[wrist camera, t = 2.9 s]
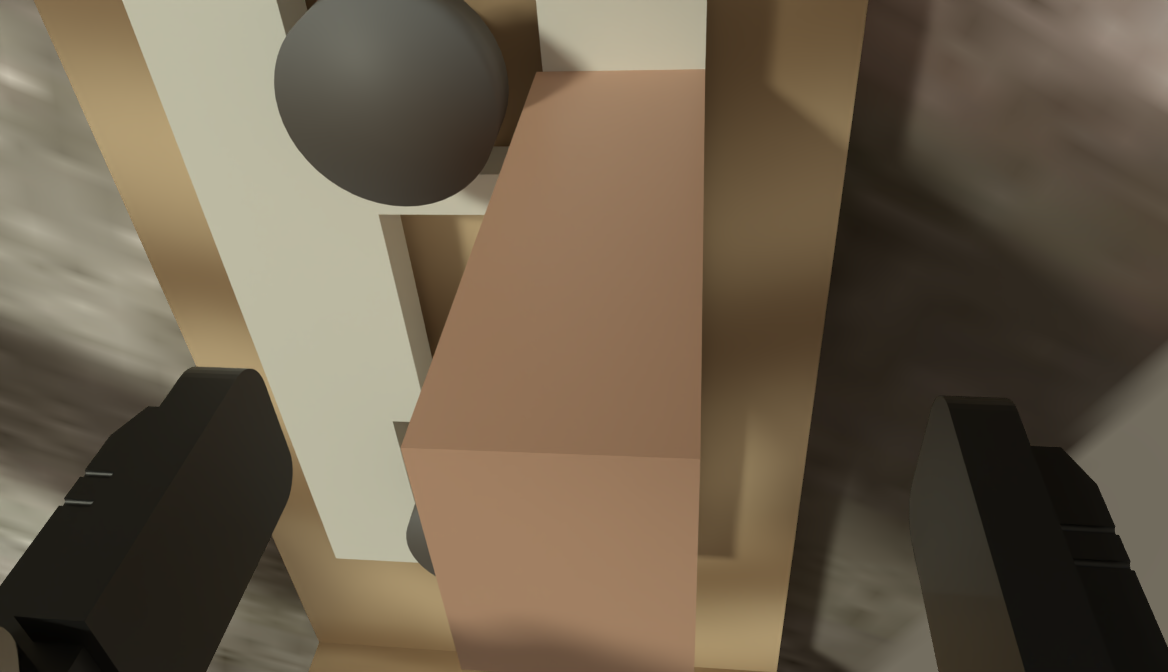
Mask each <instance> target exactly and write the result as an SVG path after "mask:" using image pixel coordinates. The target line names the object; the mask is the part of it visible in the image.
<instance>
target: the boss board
mask: <svg viewBox="0 0 1168 672" xmlns="http://www.w3.org/2000/svg"><path fill="white" fill-rule="evenodd" d="M34 2H35V4H36V6H37V9H38V11H39V13H40V15H41V18H42V20H43V22H44V24H45V27H46V29H47V31H48V33H49V35H50V38H51V40H52V42H53V44H54V47H55V49H56V51H57V53H58V56H59V58H60V60H61V62H62V65H63V67H64V69H65V71H66V74H67V76H68V78H69V80H70V83H71V85H72V87H73V89H74V92H75V94H76V96H77V98H78V101H79V103H80V105H81V107H82V110H83V112H84V114H85V116H86V119H87V121H88V123H89V125H90V128H91V130H92V132H93V134H94V137H95V139H96V141H97V143H98V146H99V148H100V150H101V152H102V155H103V157H104V159H105V161H106V164H107V166H108V168H109V170H110V173H111V175H112V177H113V179H114V182H115V184H116V186H117V188H118V191H119V193H120V195H121V197H122V200H123V202H124V204H125V206H126V209H127V211H128V213H129V215H130V218H131V220H132V222H133V224H134V227H135V229H136V231H137V233H138V236H139V238H140V240H141V242H142V245H143V247H144V249H145V251H146V254H147V256H148V258H149V260H150V263H151V265H152V267H153V269H154V272H155V274H156V276H157V278H158V281H159V283H160V285H161V287H162V290H163V292H164V294H165V296H166V299H167V301H168V303H169V305H170V308H171V310H172V312H173V314H174V316H175V319H176V321H177V323H178V325H179V328H180V330H181V332H182V334H183V337H184V339H185V341H186V343H187V346H188V348H189V350H190V352H191V355H192V357H193V359H194V361H195V364H196V366H197V367H222V368H250V369H254V370H256V371H257V372H259V373H260V375H261V376H262V378H263V380H264V382H265V385H266V388H267V390H268V393H269V396H270V399H271V401H272V404H273V407H274V410H275V412H276V415H277V418H278V421H279V423H280V426H281V429H282V431H283V434H284V437H285V440H286V442H287V445H288V448H289V451H290V454H291V458H292V465H293V478H292V486H291V491H290V495H289V499H288V501H287V504H286V506H285V508H284V510H283V512H282V515H281V517H280V519H279V521H278V523H277V525H276V527H275V529H274V531H273V533H272V537H273V539H274V541H275V544H276V546H277V548H278V550H279V553H280V555H281V557H282V559H283V562H284V564H285V566H286V568H287V571H288V573H289V575H290V577H291V580H292V582H293V584H294V586H295V589H296V591H297V593H298V595H299V597H300V600H301V602H302V604H303V606H304V609H305V611H306V613H307V615H308V618H309V620H310V622H311V624H312V627H313V629H314V631H315V633H316V636H317V638H318V640H319V645H318V648H317V650H316V653H315V656H314V658H313V661H312V664H311V666H310V669H309V672H491V671H476V670H462V669H461V666H460V662H459V659H458V655H457V652H456V648H455V644H454V641H453V637H452V633H451V630H450V626H449V623H448V619H447V615H446V612H445V608H444V604H443V601H442V597H441V593H440V590H439V586H438V583H437V579H436V575H435V572H434V568H433V564H432V561H431V557H430V554H429V550H428V546H427V543H426V539H425V535H424V532H423V528H422V524H421V521H420V517H419V514H418V510H417V506H416V503H415V505H414V508H413V511H412V514H411V517H410V520H409V524H408V527H407V531H406V540H407V545H408V547H409V550H410V552H411V553H412V555H413V557H414V558H415V559H416V560H417V562H418V563H414V562H395V561H376V560H358V559H339V558H336V557H335V554H334V552H333V549H332V546H331V544H330V541H329V539H328V536H327V533H326V531H325V528H324V526H323V523H322V520H321V518H320V515H319V513H318V510H317V507H316V505H315V502H314V500H313V497H312V494H311V492H310V489H309V486H308V484H307V481H306V479H305V476H304V473H303V471H302V468H301V466H300V463H299V460H298V458H297V455H296V453H295V450H294V447H293V445H292V442H291V440H290V437H289V434H288V432H287V429H286V426H285V424H284V421H283V419H282V416H281V413H280V411H279V408H278V406H277V403H276V400H275V398H274V395H273V393H272V390H271V387H270V385H269V382H268V380H267V377H266V374H265V372H264V369H263V366H262V364H261V361H260V359H259V356H258V353H257V351H256V348H255V346H254V343H253V340H252V338H251V335H250V333H249V330H248V327H247V325H246V322H245V320H244V317H243V314H242V312H241V309H240V306H239V304H238V301H237V299H236V296H235V293H234V291H233V288H232V286H231V283H230V280H229V278H228V275H227V273H226V270H225V267H224V265H223V262H222V260H221V257H220V254H219V252H218V249H217V246H216V244H215V241H214V239H213V236H212V233H211V231H210V228H209V226H208V223H207V220H206V218H205V215H204V213H203V210H202V207H201V205H200V202H199V200H198V197H197V194H196V192H195V189H194V186H193V184H192V181H191V179H190V176H189V173H188V171H187V168H186V166H185V163H184V160H183V158H182V155H181V153H180V150H179V147H178V145H177V142H176V140H175V137H174V134H173V132H172V129H171V126H170V124H169V121H168V119H167V116H166V113H165V111H164V108H163V106H162V103H161V100H160V98H159V95H158V93H157V90H156V87H155V85H154V82H153V79H152V77H151V74H150V72H149V69H148V66H147V64H146V61H145V59H144V56H143V53H142V51H141V48H140V46H139V43H138V40H137V38H136V35H135V33H134V30H133V27H132V25H131V22H130V19H129V17H128V14H127V12H126V9H125V6H124V4H123V1H122V0H34ZM305 3H306V7H307V12H306V13H305V14H304V15H303V16H302V17H301V18H300V19H299V20H298V21H297V22H296V24H295V25H294V26H293V27H292V28H291V30H290V31H289V32H288V34H287V36H286V37H285V39H284V41H283V43H282V45H281V47H280V50H279V53H278V56H277V60H276V65H275V71H274V89H275V98H276V102H277V107H278V111H279V114H280V116H281V119H282V122H283V124H284V126H285V128H286V130H287V132H288V134H289V136H290V138H291V140H292V141H293V143H294V144H295V146H296V147H297V149H298V150H299V151H300V152H301V154H302V155H303V156H304V157H305V159H306V160H307V161H308V162H309V163H310V164H311V165H312V166H313V167H314V168H315V169H316V170H317V171H318V172H320V173H321V174H322V175H323V176H324V177H326V178H327V179H328V180H330V181H331V182H333V183H334V184H336V185H337V186H339V187H340V188H342V189H344V190H346V191H348V192H350V193H351V194H353V195H356V196H358V197H361V198H363V199H366V200H369V201H373V202H376V203H380V204H385V205H391V206H404V207H409V206H422V205H427V204H433V203H436V202H439V201H442V200H445V199H447V198H449V197H451V196H453V195H455V194H457V193H458V192H460V191H461V190H463V189H464V188H466V187H467V186H468V185H469V184H470V183H471V182H472V181H473V180H474V179H475V178H476V177H477V176H478V175H479V173H480V172H481V171H482V169H483V168H484V166H485V164H486V163H487V161H488V159H489V156H490V154H491V151H492V149H493V147H494V146H510V143H511V141H512V138H513V135H514V132H515V130H516V127H517V124H518V121H519V118H520V116H521V113H522V110H523V107H524V105H525V102H526V99H527V96H528V94H529V91H530V88H531V85H532V82H533V80H534V77H535V74H536V72H543V69H542V59H541V48H540V38H539V27H538V17H537V6H536V0H305ZM867 7H868V0H707V17H706V58H705V128H704V208H703V288H702V368H701V448H700V489H699V524H698V559H697V594H696V628H695V663H694V672H777V666H778V658H779V651H780V644H781V636H782V629H783V622H784V614H785V607H786V600H787V592H788V585H789V578H790V571H791V563H792V556H793V549H794V541H795V534H796V527H797V519H798V512H799V505H800V497H801V490H802V483H803V475H804V468H805V461H806V453H807V446H808V439H809V431H810V424H811V417H812V409H813V402H814V395H815V388H816V380H817V373H818V366H819V358H820V351H821V344H822V336H823V329H824V322H825V314H826V307H827V300H828V292H829V285H830V278H831V270H832V263H833V256H834V248H835V241H836V234H837V226H838V219H839V212H840V204H841V197H842V190H843V183H844V175H845V168H846V161H847V153H848V146H849V139H850V131H851V124H852V117H853V109H854V102H855V95H856V87H857V80H858V73H859V65H860V58H861V51H862V43H863V36H864V29H865V21H866V14H867ZM400 217H401V221H402V226H403V230H404V235H405V239H406V244H407V248H408V253H409V257H410V262H411V266H412V270H413V275H414V279H415V284H416V288H417V293H418V297H419V302H420V306H421V311H422V315H423V320H424V324H425V329H426V333H427V338H428V342H429V347H430V351H431V356H432V359H433V356H434V354H435V351H436V348H437V345H438V342H439V340H440V337H441V334H442V331H443V329H444V326H445V323H446V320H447V318H448V315H449V312H450V309H451V307H452V304H453V301H454V298H455V295H456V293H457V290H458V287H459V284H460V282H461V279H462V276H463V273H464V271H465V268H466V265H467V262H468V260H469V257H470V254H471V251H472V248H473V246H474V243H475V240H476V237H477V235H478V232H479V229H480V226H481V224H482V221H483V218H484V215H400Z"/></svg>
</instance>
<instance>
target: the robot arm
mask: <svg viewBox="0 0 1168 672" xmlns="http://www.w3.org/2000/svg"><path fill="white" fill-rule="evenodd" d="M85 471H86V474H85V477H80V478H79V479H78V480H77V482H76V483H75V485H74V486H73V487H72V489H71V490H70V491H69V493H68V494H67V495H66V497H65V498H64V499H65V504H64V505H63V506H58V508H57V509H56V510H55V512H54V513H53V515H52V516H51V517H50V519H49V520H48V521H47V523H46V524H45V525H44V527H43V528H42V530H41V531H40V532H39V534H38V535H37V536H36V538H35V539H34V541H33V542H32V543H31V545H30V546H29V547H28V549H27V550H26V551H25V553H24V554H23V556H22V557H21V558H20V560H19V561H18V562H17V564H16V565H15V566H14V568H13V569H12V571H11V572H10V573H9V575H8V576H7V577H6V579H5V580H4V581H3V583H2V584H1V586H0V672H206V671H207V669H208V667H209V664H210V662H211V660H212V658H213V656H214V654H215V652H216V650H217V648H218V646H219V644H220V642H221V639H222V637H223V635H224V633H225V631H226V629H227V627H228V625H229V623H230V621H231V619H232V617H233V614H234V612H235V610H236V608H237V606H238V604H239V602H240V600H241V598H242V596H243V594H244V592H245V590H246V587H247V585H248V583H249V581H250V579H251V577H252V575H253V573H254V571H255V569H256V567H257V565H258V562H259V560H260V558H261V556H262V554H263V552H264V550H265V548H266V546H267V544H268V542H269V540H270V537H271V535H272V533H273V531H274V529H275V527H276V525H277V523H278V521H279V519H280V517H281V515H282V512H283V510H284V508H285V506H286V504H287V501H288V499H289V495H290V491H291V486H292V478H293V465H292V458H291V454H290V451H289V448H288V445H287V442H286V440H285V437H284V434H283V431H282V429H281V426H280V423H279V421H278V418H277V415H276V412H275V410H274V407H273V404H272V401H271V399H270V396H269V393H268V390H267V388H266V385H265V382H264V380H263V378H262V376H261V375H260V373H259V372H257V371H256V370H254V369H250V368H222V367H191V368H189V369H188V370H186V371H185V372H184V373H183V374H182V375H181V377H180V378H179V379H178V381H177V382H176V384H175V385H174V387H173V388H172V390H171V391H170V392H169V394H168V395H167V397H166V398H165V400H164V401H163V402H162V404H161V405H160V407H149V406H148V407H147V408H145V409H144V410H143V411H141V412H140V413H139V414H138V415H136V416H135V417H134V418H132V419H131V420H130V421H129V422H127V423H126V424H125V425H123V426H122V427H121V428H120V429H118V430H117V431H116V432H114V433H113V434H112V435H111V436H110V437H109V438H108V440H107V441H106V442H105V444H104V445H103V446H102V448H101V449H100V450H99V452H98V453H97V455H96V456H95V457H94V459H93V460H92V461H91V463H90V464H89V465H88V467H87V468H86V470H85ZM909 525H910V535H911V541H912V546H913V551H914V556H915V561H916V565H917V570H918V575H919V580H920V585H921V589H922V594H923V599H924V604H925V608H926V613H927V618H928V623H929V628H930V632H931V637H932V642H933V647H934V652H935V656H936V660H937V666H938V671H939V672H1168V647H1167V645H1166V642H1165V640H1164V638H1163V635H1162V633H1161V631H1160V628H1159V626H1158V624H1157V621H1156V620H1155V617H1154V615H1153V612H1152V610H1151V608H1150V605H1149V603H1148V601H1147V598H1146V596H1145V594H1144V592H1143V589H1142V587H1141V585H1140V583H1139V580H1138V578H1137V576H1136V573H1135V571H1133V570H1131V569H1130V559H1129V557H1128V555H1127V552H1126V550H1125V548H1124V545H1123V543H1122V541H1121V539H1120V536H1119V535H1116V534H1115V525H1114V523H1113V520H1112V518H1111V516H1110V513H1109V511H1108V509H1107V506H1106V504H1105V502H1104V499H1103V497H1102V495H1101V493H1100V490H1099V488H1098V486H1097V484H1096V483H1095V482H1094V481H1093V480H1092V479H1091V478H1090V477H1089V476H1088V475H1087V474H1086V473H1085V472H1084V471H1083V470H1082V469H1081V468H1080V466H1079V465H1078V464H1077V463H1076V462H1075V461H1074V460H1073V459H1072V458H1071V457H1070V456H1069V455H1068V454H1067V453H1066V452H1065V451H1064V450H1063V449H1062V448H1061V447H1040V446H1030V443H1029V440H1028V438H1027V435H1026V432H1025V430H1024V427H1023V424H1022V422H1021V419H1020V416H1019V414H1018V411H1017V409H1016V406H1015V405H1014V403H1013V402H1012V401H1011V400H1010V399H1008V398H990V397H963V396H938V397H937V398H936V399H935V400H934V402H933V405H932V408H931V411H930V415H929V419H928V423H927V427H926V431H925V435H924V439H923V443H922V447H921V451H920V454H919V458H918V462H917V466H916V470H915V474H914V478H913V482H912V486H911V492H910V501H909Z"/></svg>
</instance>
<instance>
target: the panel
mask: <svg viewBox="0 0 1168 672" xmlns="http://www.w3.org/2000/svg"><path fill="white" fill-rule="evenodd" d="M122 1H123V4H124V6H125V9H126V12H127V14H128V17H129V19H130V22H131V25H132V27H133V30H134V33H135V35H136V38H137V40H138V43H139V46H140V48H141V51H142V53H143V56H144V59H145V61H146V64H147V66H148V69H149V72H150V74H151V77H152V79H153V82H154V85H155V87H156V90H157V93H158V95H159V98H160V100H161V103H162V106H163V108H164V111H165V113H166V116H167V119H168V121H169V124H170V126H171V129H172V132H173V134H174V137H175V140H176V142H177V145H178V147H179V150H180V153H181V155H182V158H183V160H184V163H185V166H186V168H187V171H188V173H189V176H190V179H191V181H192V184H193V186H194V189H195V192H196V194H197V197H198V200H199V202H200V205H201V207H202V210H203V213H204V215H205V218H206V220H207V223H208V226H209V228H210V231H211V233H212V236H213V239H214V241H215V244H216V246H217V249H218V252H219V254H220V257H221V260H222V262H223V265H224V267H225V270H226V273H227V275H228V278H229V280H230V283H231V286H232V288H233V291H234V293H235V296H236V299H237V301H238V304H239V306H240V309H241V312H242V314H243V317H244V320H245V322H246V325H247V327H248V330H249V333H250V335H251V338H252V340H253V343H254V346H255V348H256V351H257V353H258V356H259V359H260V361H261V364H262V366H263V369H264V372H265V374H266V377H267V380H268V382H269V385H270V387H271V390H272V393H273V395H274V398H275V400H276V403H277V406H278V408H279V411H280V413H281V416H282V419H283V421H284V424H285V426H286V429H287V432H288V434H289V437H290V440H291V442H292V445H293V447H294V450H295V453H296V455H297V458H298V460H299V463H300V466H301V468H302V471H303V473H304V476H305V479H306V481H307V484H308V486H309V489H310V492H311V494H312V497H313V500H314V502H315V505H316V507H317V510H318V513H319V515H320V518H321V520H322V523H323V526H324V528H325V531H326V533H327V536H328V539H329V541H330V544H331V546H332V549H333V552H334V554H335V557H336V558H339V559H358V560H376V561H395V562H414V563H418V562H417V560H416V559H415V558H414V557H413V555H412V553H411V552H410V550H409V547H408V545H407V540H406V531H407V527H408V524H409V520H410V517H411V514H412V511H413V508H414V505H415V503H416V506H417V510H418V514H419V517H420V521H421V524H422V528H423V532H424V535H425V539H426V543H427V546H428V550H429V554H430V557H431V561H432V564H433V568H434V572H435V575H436V579H437V583H438V586H439V590H440V593H441V597H442V601H443V604H444V608H445V612H446V615H447V619H448V623H449V626H450V630H451V633H452V637H453V641H454V644H455V648H456V652H457V655H458V659H459V662H460V666H461V669H462V670H476V671H491V672H694V663H695V628H696V594H697V559H698V524H699V489H700V448H701V368H702V288H703V208H704V128H705V58H706V17H707V0H536V6H537V17H538V27H539V38H540V48H541V59H542V69H543V72H536V74H535V77H534V80H533V82H532V85H531V88H530V91H529V94H528V96H527V99H526V102H525V105H524V107H523V110H522V113H521V116H520V118H519V121H518V124H517V127H516V130H515V132H514V135H513V138H512V141H511V143H510V146H494V147H493V149H492V151H491V154H490V156H489V159H488V161H487V163H486V164H485V166H484V168H483V169H482V171H481V172H480V173H479V175H478V176H477V177H476V178H475V179H474V180H473V181H472V182H471V183H470V184H469V185H468V186H467V187H466V188H464V189H463V190H461V191H460V192H458V193H457V194H455V195H453V196H451V197H449V198H447V199H445V200H442V201H439V202H436V203H433V204H427V205H422V206H409V207H404V206H391V205H385V204H380V203H376V202H373V201H369V200H366V199H363V198H361V197H358V196H356V195H353V194H351V193H350V192H348V191H346V190H344V189H342V188H340V187H339V186H337V185H336V184H334V183H333V182H331V181H330V180H328V179H327V178H326V177H324V176H323V175H322V174H321V173H320V172H318V171H317V170H316V169H315V168H314V167H313V166H312V165H311V164H310V163H309V162H308V161H307V160H306V159H305V157H304V156H303V155H302V154H301V152H300V151H299V150H298V149H297V147H296V146H295V144H294V143H293V141H292V140H291V138H290V136H289V134H288V132H287V130H286V128H285V126H284V124H283V122H282V119H281V116H280V114H279V111H278V107H277V102H276V98H275V89H274V71H275V65H276V60H277V56H278V53H279V50H280V47H281V45H282V43H283V41H284V39H285V37H286V36H287V34H288V32H289V31H290V30H291V28H292V27H293V26H294V25H295V24H296V22H297V21H298V20H299V19H300V18H301V17H302V16H303V15H304V14H305V13H306V12H307V7H306V3H305V0H122ZM400 215H484V218H483V221H482V224H481V226H480V229H479V232H478V235H477V237H476V240H475V243H474V246H473V248H472V251H471V254H470V257H469V260H468V262H467V265H466V268H465V271H464V273H463V276H462V279H461V282H460V284H459V287H458V290H457V293H456V295H455V298H454V301H453V304H452V307H451V309H450V312H449V315H448V318H447V320H446V323H445V326H444V329H443V331H442V334H441V337H440V340H439V342H438V345H437V348H436V351H435V354H434V356H433V359H432V356H431V351H430V347H429V342H428V338H427V333H426V329H425V324H424V320H423V315H422V311H421V306H420V302H419V297H418V293H417V288H416V284H415V279H414V275H413V270H412V266H411V262H410V257H409V253H408V248H407V244H406V239H405V235H404V230H403V226H402V221H401V217H400Z"/></svg>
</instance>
